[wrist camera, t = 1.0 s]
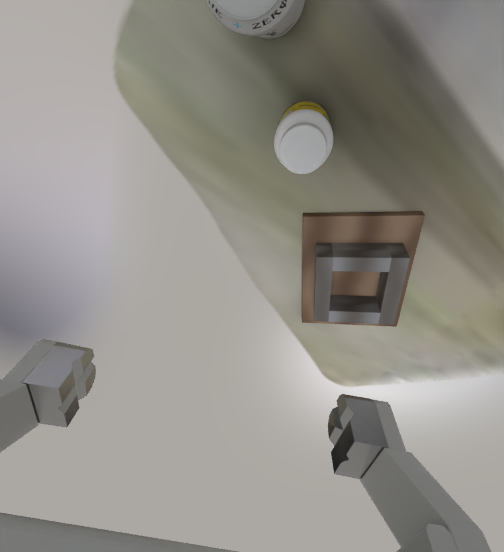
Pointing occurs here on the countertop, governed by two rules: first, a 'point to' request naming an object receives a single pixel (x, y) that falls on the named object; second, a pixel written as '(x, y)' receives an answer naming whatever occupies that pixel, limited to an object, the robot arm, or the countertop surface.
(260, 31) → the energy drink can
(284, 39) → the countertop surface
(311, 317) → the socket block
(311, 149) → the supplement bottle
